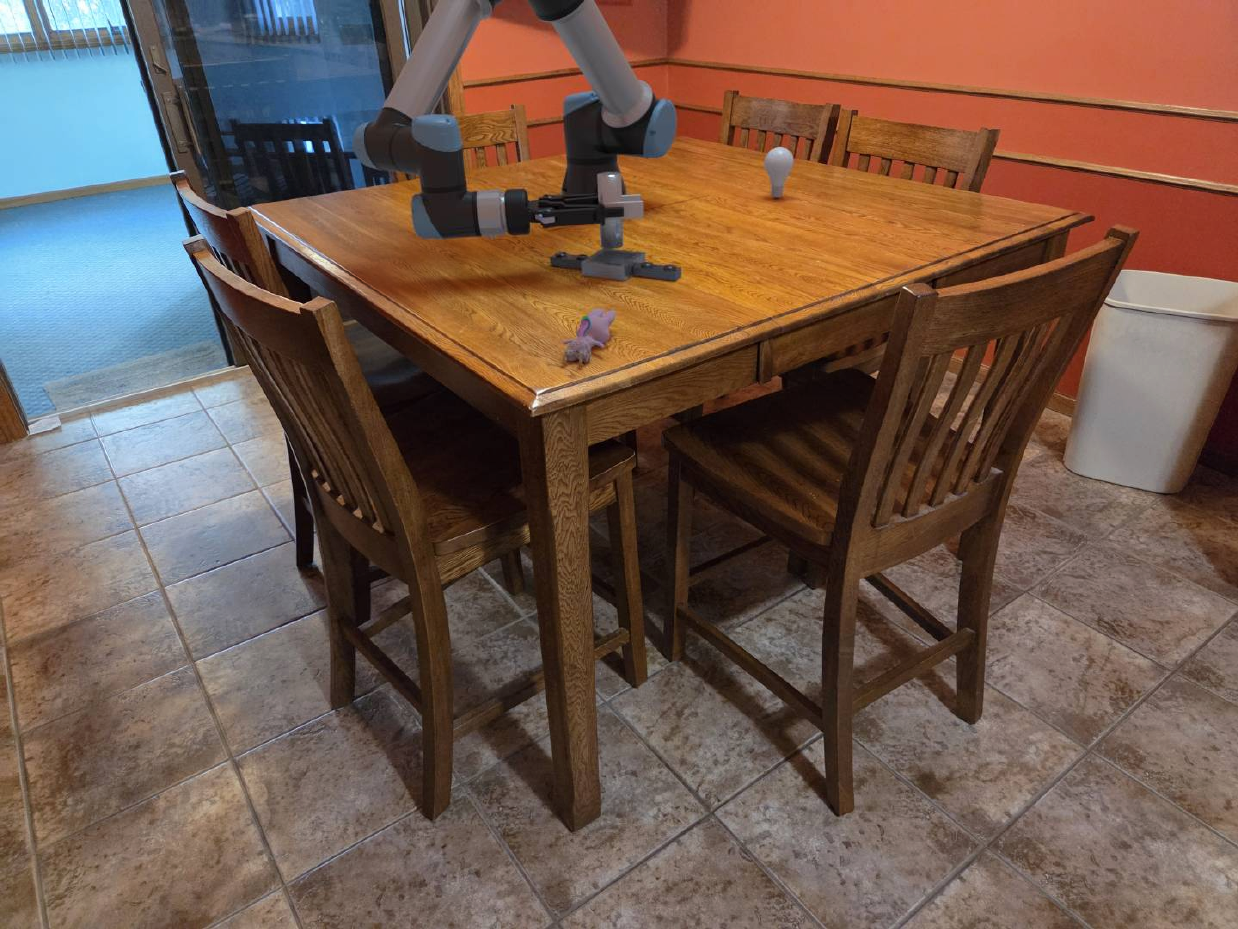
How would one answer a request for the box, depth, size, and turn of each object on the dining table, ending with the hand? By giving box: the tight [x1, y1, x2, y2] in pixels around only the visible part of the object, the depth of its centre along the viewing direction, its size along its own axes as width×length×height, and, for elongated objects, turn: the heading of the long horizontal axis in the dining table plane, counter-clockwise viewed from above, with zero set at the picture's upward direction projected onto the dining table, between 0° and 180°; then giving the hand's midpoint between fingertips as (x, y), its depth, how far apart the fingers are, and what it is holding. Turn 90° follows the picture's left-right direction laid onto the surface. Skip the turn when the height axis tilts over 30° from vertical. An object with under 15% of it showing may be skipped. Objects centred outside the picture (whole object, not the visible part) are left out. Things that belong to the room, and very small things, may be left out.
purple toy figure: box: [561, 308, 617, 368], centre depth 115 cm, size 6×6×15 cm
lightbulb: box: [764, 146, 795, 200], centre depth 181 cm, size 6×6×11 cm
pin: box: [597, 172, 624, 249], centre depth 139 cm, size 4×4×12 cm
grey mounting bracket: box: [549, 248, 682, 282], centre depth 144 cm, size 25×8×2 cm, turn 63°
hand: (641, 205), depth 139 cm, fingers closed on pin, 4 cm apart
